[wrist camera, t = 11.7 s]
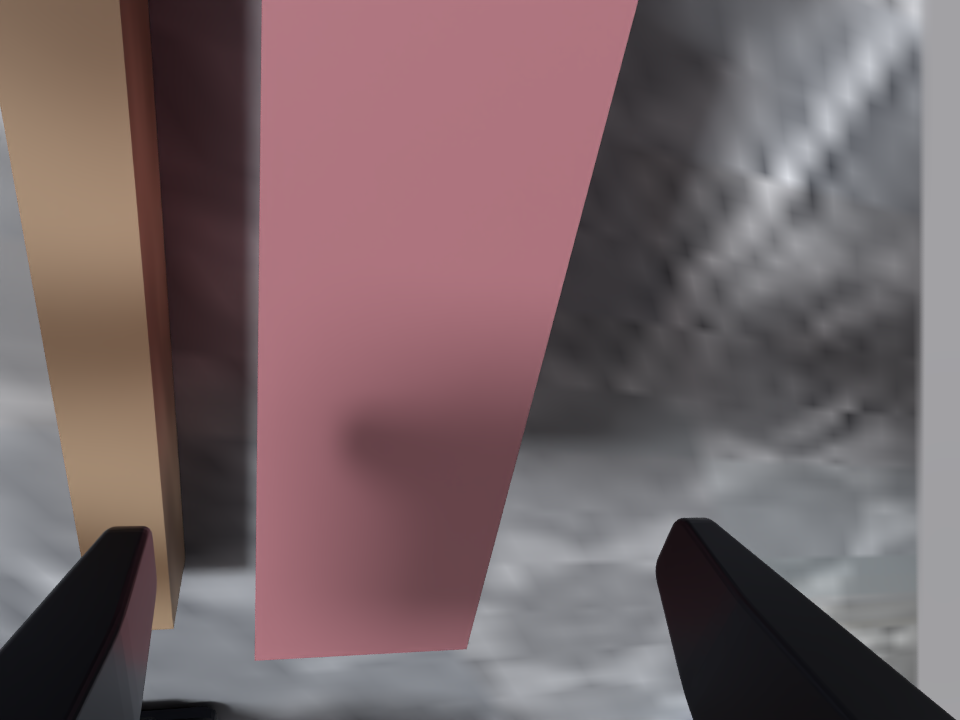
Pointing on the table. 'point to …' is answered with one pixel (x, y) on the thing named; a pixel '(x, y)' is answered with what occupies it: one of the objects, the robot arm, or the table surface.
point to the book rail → (98, 260)
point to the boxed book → (409, 296)
